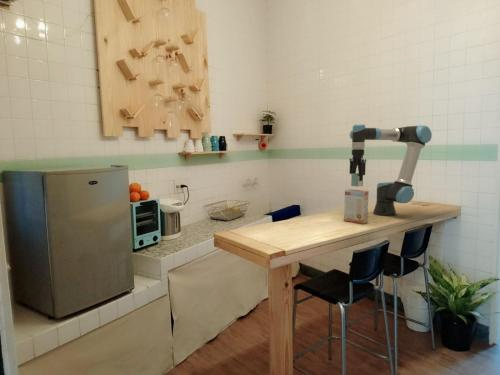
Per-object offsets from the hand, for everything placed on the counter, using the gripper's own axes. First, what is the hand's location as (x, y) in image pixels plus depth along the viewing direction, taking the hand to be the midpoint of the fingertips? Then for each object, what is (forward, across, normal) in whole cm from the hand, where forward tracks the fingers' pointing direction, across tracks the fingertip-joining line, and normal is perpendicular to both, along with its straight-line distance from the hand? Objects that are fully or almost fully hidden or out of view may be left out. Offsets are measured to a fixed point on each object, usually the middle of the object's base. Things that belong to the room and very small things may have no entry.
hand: (356, 185), depth 215 cm
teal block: (0, 0, 0) cm, 0 cm away
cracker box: (+24, 0, 0) cm, 24 cm away
